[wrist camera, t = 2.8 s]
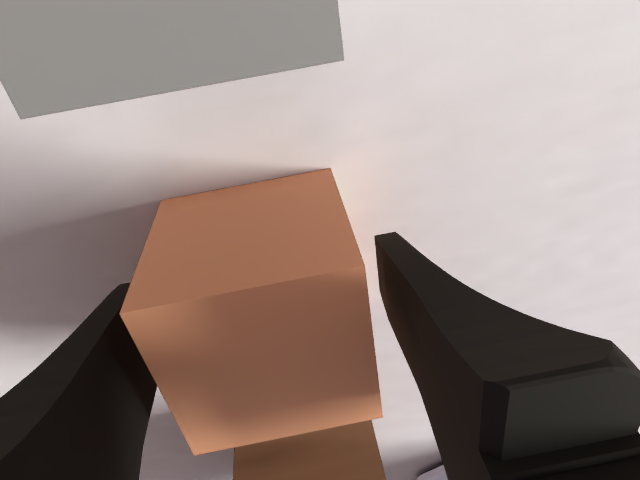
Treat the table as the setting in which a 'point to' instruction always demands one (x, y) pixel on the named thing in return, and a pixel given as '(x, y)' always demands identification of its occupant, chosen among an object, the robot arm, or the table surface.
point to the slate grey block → (153, 46)
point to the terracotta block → (256, 313)
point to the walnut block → (313, 456)
